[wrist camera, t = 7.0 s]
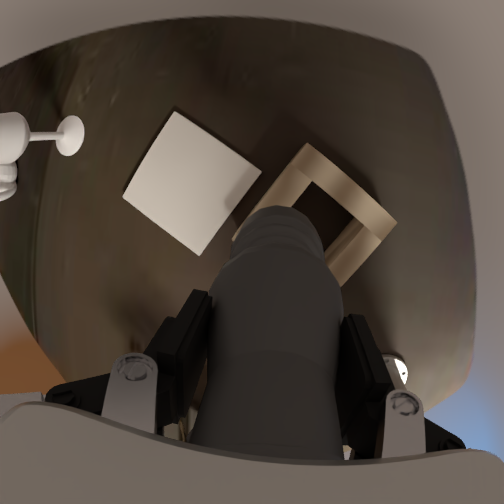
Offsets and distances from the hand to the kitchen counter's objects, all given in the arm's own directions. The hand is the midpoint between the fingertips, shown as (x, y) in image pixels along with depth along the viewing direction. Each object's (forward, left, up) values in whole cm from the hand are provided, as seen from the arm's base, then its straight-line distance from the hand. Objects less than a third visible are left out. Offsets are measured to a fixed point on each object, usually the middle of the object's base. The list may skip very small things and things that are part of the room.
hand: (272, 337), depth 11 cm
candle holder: (0, 0, -12) cm, 12 cm away
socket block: (-4, -1, -28) cm, 28 cm away
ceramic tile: (+12, +5, -28) cm, 30 cm away
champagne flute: (+34, +10, -28) cm, 45 cm away
